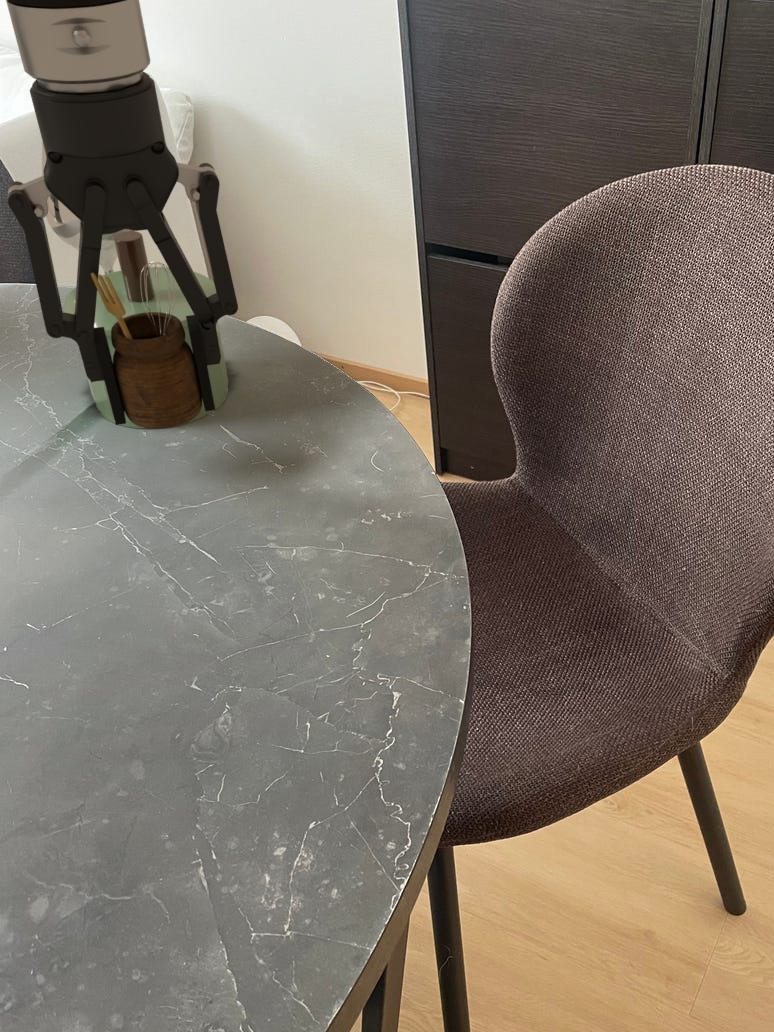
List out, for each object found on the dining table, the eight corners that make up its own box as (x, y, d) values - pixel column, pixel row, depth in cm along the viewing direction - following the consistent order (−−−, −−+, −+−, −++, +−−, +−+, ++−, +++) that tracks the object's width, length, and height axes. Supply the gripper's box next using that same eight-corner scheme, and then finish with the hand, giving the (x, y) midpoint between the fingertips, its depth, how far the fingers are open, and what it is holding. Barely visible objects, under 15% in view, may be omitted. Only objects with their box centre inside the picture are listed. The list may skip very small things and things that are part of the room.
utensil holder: (220, 403, 81) (192, 250, 73) (168, 441, 77) (133, 283, 69) (160, 386, 83) (126, 236, 75) (106, 422, 79) (65, 267, 71)
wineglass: (81, 365, 96) (25, 159, 84) (80, 327, 101) (28, 129, 89) (172, 354, 97) (130, 151, 85) (166, 317, 103) (126, 122, 91)
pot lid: (34, 329, 83) (11, 254, 79) (121, 271, 92) (105, 200, 88) (169, 353, 81) (153, 276, 76) (246, 290, 89) (235, 218, 85)
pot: (68, 415, 89) (41, 321, 83) (142, 357, 97) (121, 267, 91) (185, 438, 86) (165, 342, 81) (251, 376, 94) (237, 285, 89)
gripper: (-78, 105, 60) (35, 453, 75) (252, 79, 64) (295, 413, 80) (-70, 72, 65) (34, 404, 80) (235, 50, 69) (278, 369, 85)
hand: (164, 408), depth 80 cm, fingers closed on utensil holder, 6 cm apart
